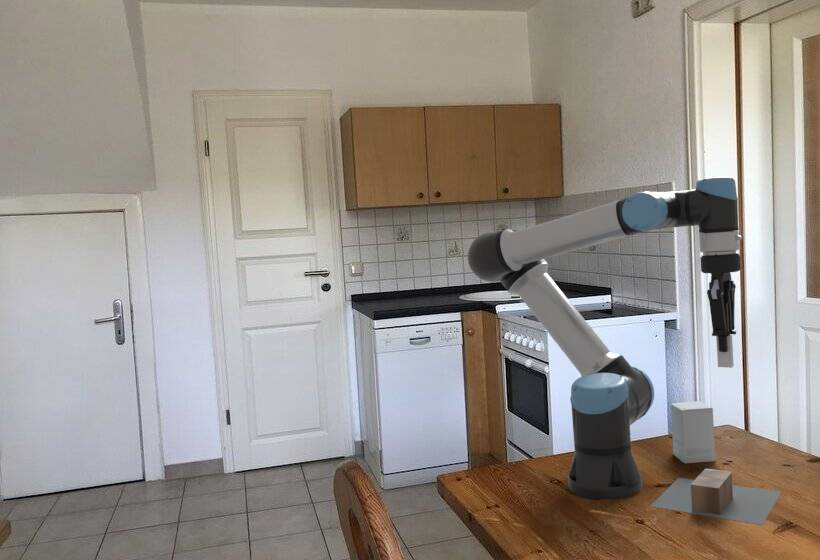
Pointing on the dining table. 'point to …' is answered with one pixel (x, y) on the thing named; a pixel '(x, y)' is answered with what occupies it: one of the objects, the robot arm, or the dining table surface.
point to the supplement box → (693, 432)
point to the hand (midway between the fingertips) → (725, 366)
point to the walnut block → (712, 491)
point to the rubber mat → (742, 507)
